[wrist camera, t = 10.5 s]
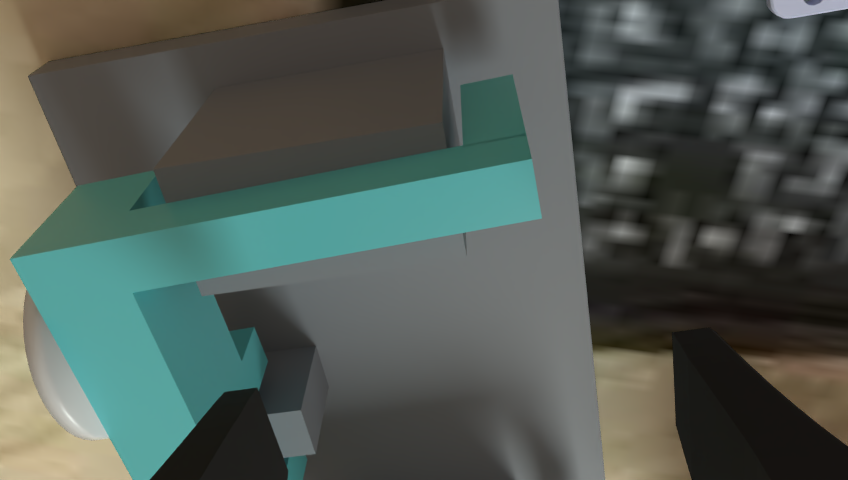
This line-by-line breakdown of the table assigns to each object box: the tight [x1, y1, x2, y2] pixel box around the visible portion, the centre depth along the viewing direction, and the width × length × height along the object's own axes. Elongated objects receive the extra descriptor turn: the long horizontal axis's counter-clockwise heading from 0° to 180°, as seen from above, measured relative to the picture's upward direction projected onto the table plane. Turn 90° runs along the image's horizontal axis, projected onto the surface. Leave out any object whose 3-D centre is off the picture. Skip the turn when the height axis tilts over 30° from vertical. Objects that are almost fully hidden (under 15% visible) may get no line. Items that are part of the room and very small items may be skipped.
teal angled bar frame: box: [10, 74, 542, 480], centre depth 20 cm, size 10×16×5 cm, turn 13°
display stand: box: [28, 0, 605, 480], centre depth 22 cm, size 13×20×6 cm, turn 10°
